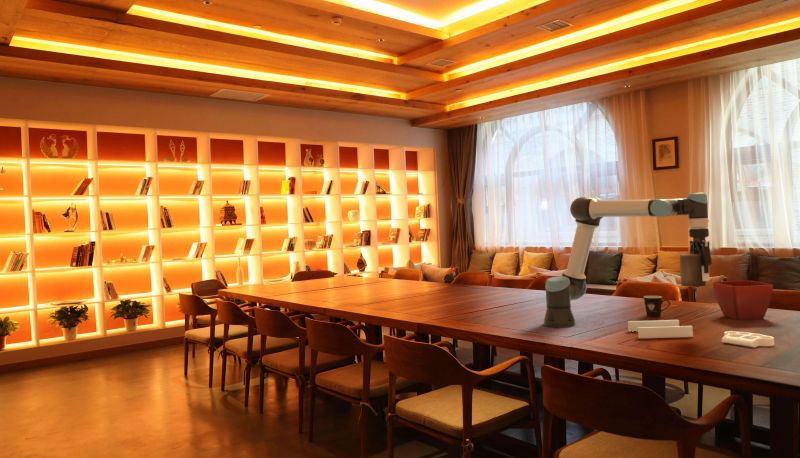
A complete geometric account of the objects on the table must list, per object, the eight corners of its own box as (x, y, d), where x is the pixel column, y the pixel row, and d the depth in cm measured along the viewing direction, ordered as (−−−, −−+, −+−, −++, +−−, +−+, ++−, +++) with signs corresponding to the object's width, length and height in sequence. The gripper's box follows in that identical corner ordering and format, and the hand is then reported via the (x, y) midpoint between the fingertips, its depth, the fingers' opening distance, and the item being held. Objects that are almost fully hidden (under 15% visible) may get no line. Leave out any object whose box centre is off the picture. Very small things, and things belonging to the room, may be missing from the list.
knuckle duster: (713, 343, 224) (732, 337, 232) (762, 350, 209) (780, 344, 217) (713, 334, 224) (732, 329, 232) (761, 341, 209) (780, 335, 217)
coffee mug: (640, 316, 287) (640, 297, 287) (652, 314, 290) (651, 295, 290) (659, 319, 276) (658, 299, 276) (671, 317, 280) (671, 297, 280)
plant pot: (776, 319, 261) (774, 284, 261) (735, 321, 261) (733, 286, 261) (751, 313, 280) (749, 280, 280) (713, 315, 280) (711, 281, 280)
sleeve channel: (639, 338, 237) (638, 327, 237) (628, 331, 253) (627, 321, 252) (692, 336, 235) (692, 326, 235) (678, 329, 250) (677, 319, 250)
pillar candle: (708, 286, 236) (707, 251, 236) (684, 287, 238) (682, 252, 238) (701, 284, 246) (700, 250, 246) (677, 284, 248) (676, 251, 248)
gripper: (719, 228, 230) (721, 282, 231) (696, 227, 252) (698, 276, 252) (700, 229, 231) (702, 282, 231) (679, 228, 252) (681, 277, 253)
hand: (700, 279), depth 242 cm, fingers closed on pillar candle, 9 cm apart
